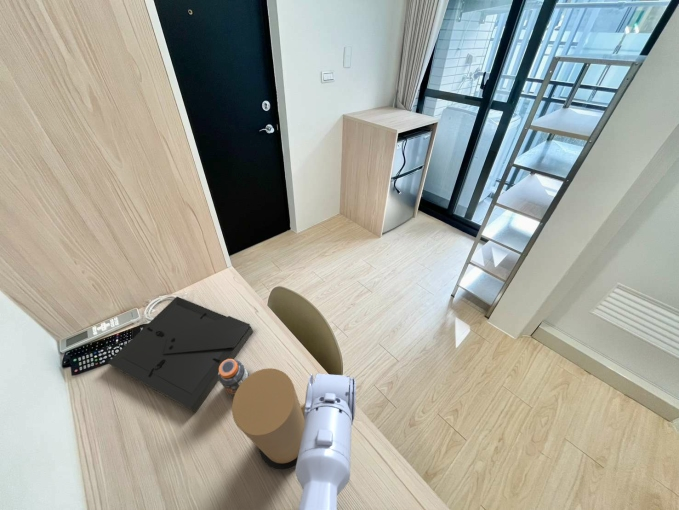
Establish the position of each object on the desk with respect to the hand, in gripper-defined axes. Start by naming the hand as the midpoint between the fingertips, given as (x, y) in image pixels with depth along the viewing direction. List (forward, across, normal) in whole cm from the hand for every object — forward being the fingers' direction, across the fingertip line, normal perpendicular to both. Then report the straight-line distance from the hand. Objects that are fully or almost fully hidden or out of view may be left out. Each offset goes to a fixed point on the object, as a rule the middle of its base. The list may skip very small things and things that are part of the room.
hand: (334, 438), depth 52 cm
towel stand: (+10, -1, -11) cm, 15 cm away
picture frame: (+10, -17, -45) cm, 49 cm away
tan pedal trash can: (+9, -3, -9) cm, 13 cm away
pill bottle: (+10, -10, -26) cm, 30 cm away
